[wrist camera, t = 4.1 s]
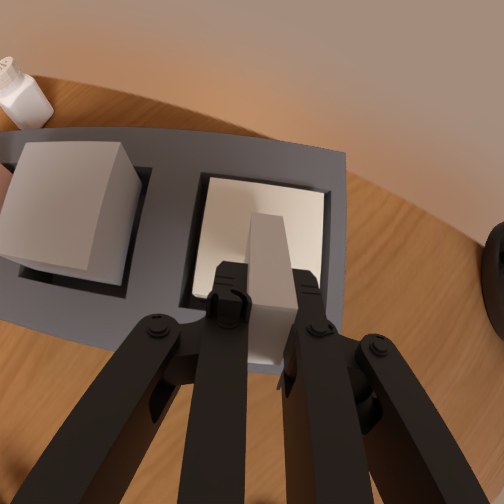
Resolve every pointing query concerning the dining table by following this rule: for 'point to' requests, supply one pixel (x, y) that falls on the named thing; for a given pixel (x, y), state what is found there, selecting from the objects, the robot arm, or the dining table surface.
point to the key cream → (238, 220)
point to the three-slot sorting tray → (170, 230)
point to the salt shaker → (22, 97)
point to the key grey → (71, 209)
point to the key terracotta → (4, 183)
